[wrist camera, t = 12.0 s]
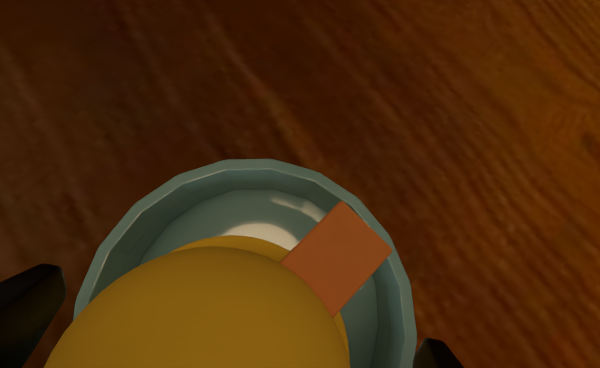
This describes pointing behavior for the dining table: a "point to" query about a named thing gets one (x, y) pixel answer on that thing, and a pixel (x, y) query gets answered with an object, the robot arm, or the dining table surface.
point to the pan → (268, 226)
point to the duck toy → (231, 303)
